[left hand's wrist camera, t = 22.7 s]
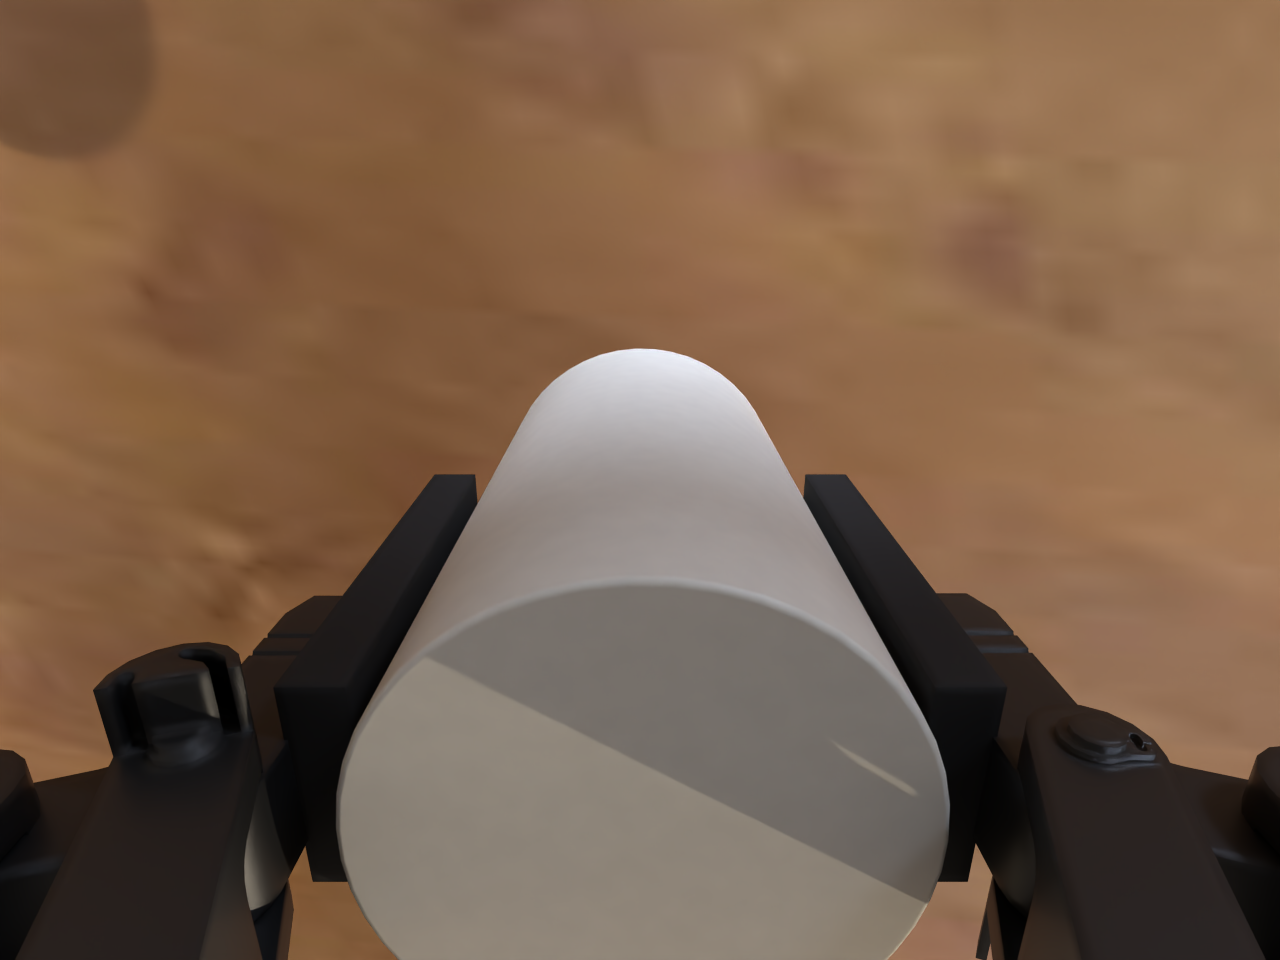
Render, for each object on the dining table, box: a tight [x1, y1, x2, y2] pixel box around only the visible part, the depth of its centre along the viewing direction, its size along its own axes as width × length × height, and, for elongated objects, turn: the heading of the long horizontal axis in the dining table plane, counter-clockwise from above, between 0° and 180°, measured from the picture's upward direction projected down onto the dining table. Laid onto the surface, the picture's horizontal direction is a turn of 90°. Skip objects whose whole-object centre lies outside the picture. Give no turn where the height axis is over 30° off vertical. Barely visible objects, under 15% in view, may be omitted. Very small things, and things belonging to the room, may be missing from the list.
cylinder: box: [336, 349, 950, 960], centre depth 13 cm, size 6×6×11 cm
